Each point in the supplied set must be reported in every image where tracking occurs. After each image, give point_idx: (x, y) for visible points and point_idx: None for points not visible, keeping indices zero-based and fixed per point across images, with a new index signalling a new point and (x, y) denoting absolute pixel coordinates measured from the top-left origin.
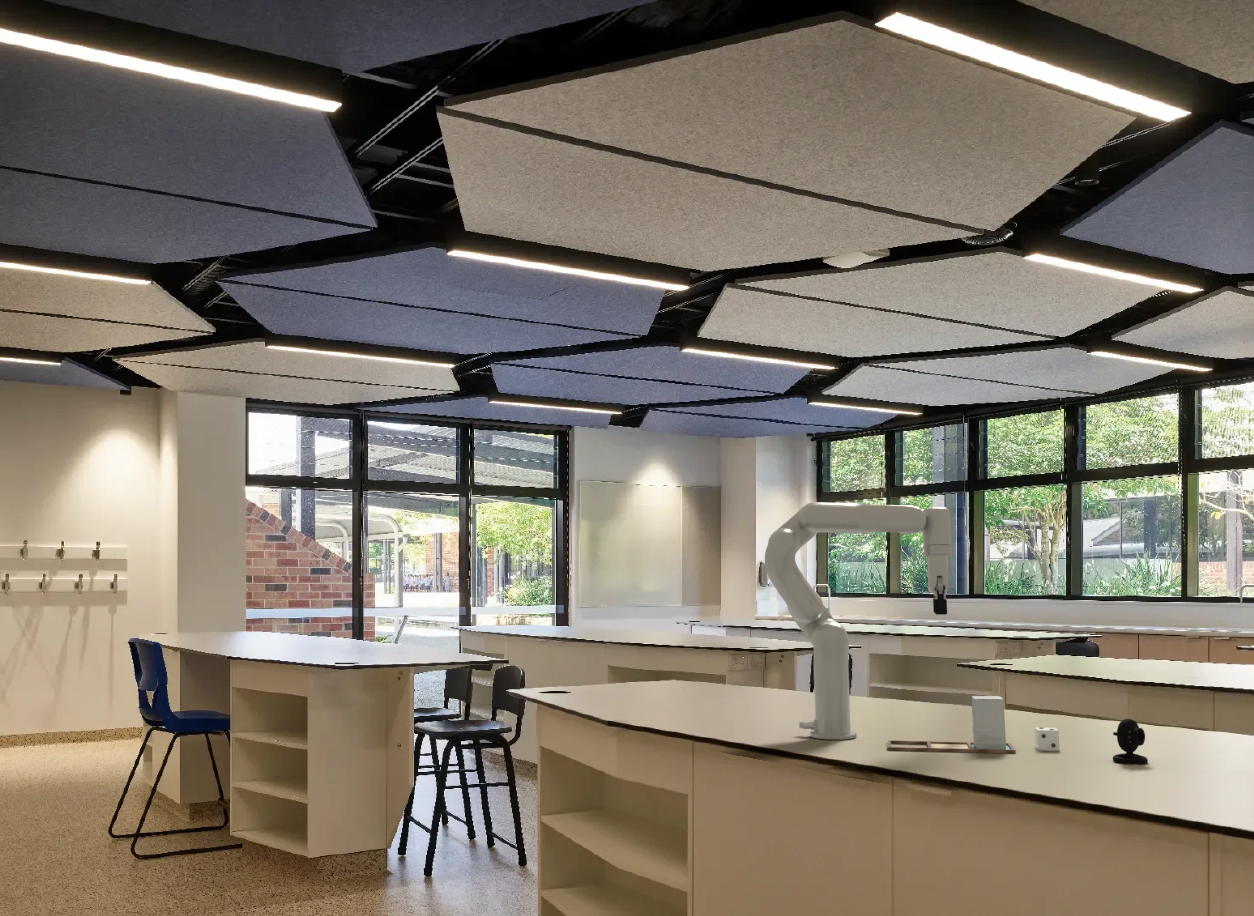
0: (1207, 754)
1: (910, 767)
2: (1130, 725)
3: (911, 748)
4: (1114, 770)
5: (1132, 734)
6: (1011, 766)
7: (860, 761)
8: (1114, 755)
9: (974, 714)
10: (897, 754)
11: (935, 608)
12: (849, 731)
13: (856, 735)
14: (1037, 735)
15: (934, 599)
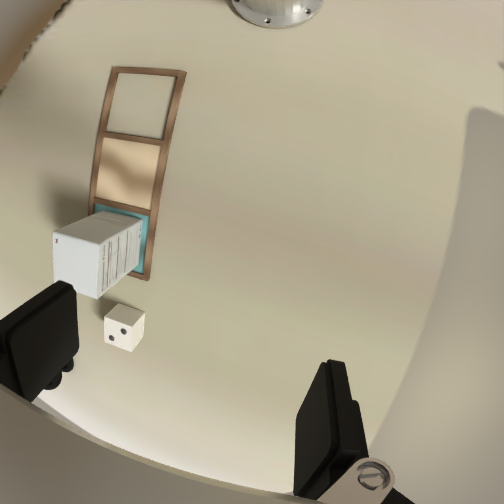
0: (119, 435)
1: (13, 98)
2: None
3: (104, 104)
4: None
5: None
6: (16, 219)
7: (48, 37)
8: None
9: (76, 224)
10: (83, 81)
11: (37, 298)
12: (258, 11)
13: (264, 26)
14: (111, 313)
15: (329, 450)
